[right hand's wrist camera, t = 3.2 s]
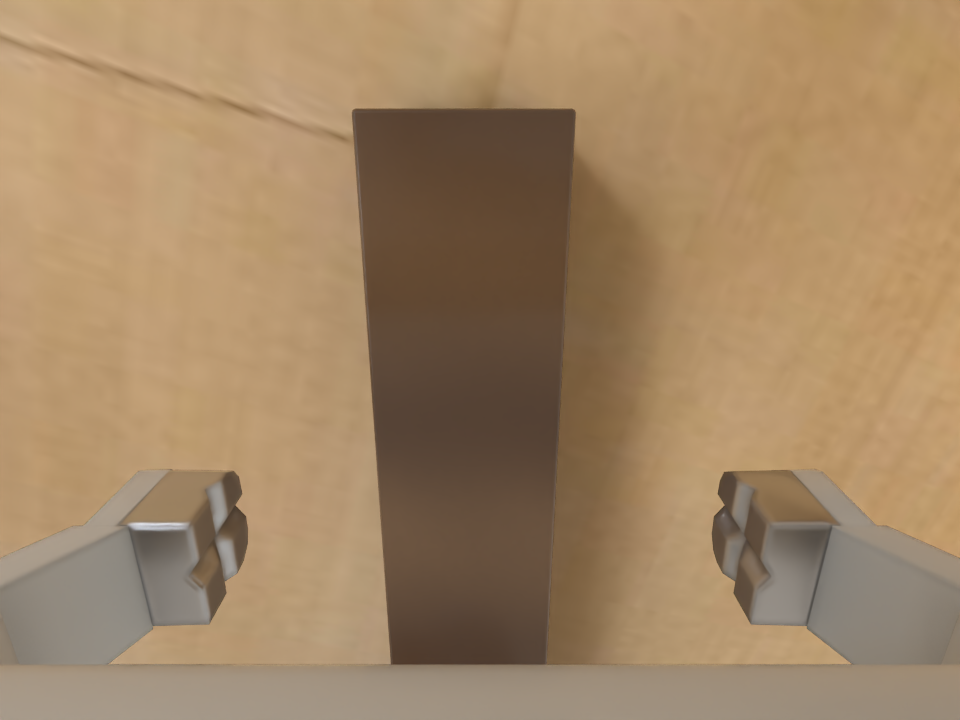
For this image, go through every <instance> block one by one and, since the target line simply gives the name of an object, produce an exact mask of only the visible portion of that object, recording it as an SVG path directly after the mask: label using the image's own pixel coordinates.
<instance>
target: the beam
mask: <svg viewBox="0 0 960 720" xmlns="http://www.w3.org/2000/svg"><path fill="white" fill-rule="evenodd" d="M575 118H576V112H575V110H574V109H354V110H353V111H352V121H353V135H354V149H355V163H356V178H357V192H358V206H359V220H360V234H361V248H362V262H363V276H364V290H365V305H366V319H367V333H368V347H369V361H370V375H371V389H372V403H373V417H374V431H375V446H376V460H377V474H378V488H379V502H380V516H381V530H382V544H383V558H384V573H385V587H386V601H387V615H388V629H389V643H390V657H391V665H547V648H548V629H549V610H550V591H551V572H552V553H553V534H554V515H555V496H556V477H557V459H558V440H559V421H560V402H561V383H562V364H563V345H564V326H565V307H566V288H567V269H568V250H569V231H570V212H571V193H572V175H573V156H574V137H575Z"/></svg>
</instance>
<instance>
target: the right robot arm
mask: <svg viewBox="0 0 960 720" xmlns="http://www.w3.org/2000/svg"><path fill="white" fill-rule="evenodd" d="M241 495H242V490H241V485H240V480H239V476H238V475H237V474H236V473H235V472H234V471H214V470H172V469H159V470H142V471H138V472H137V473H136V474H135V475H134V476H133V477H132V478H131V479H130V480H129V481H128V482H127V483H126V484H125V485H124V486H123V487H122V488H121V489H120V490H119V491H118V492H117V493H116V494H115V495H114V496H113V497H112V498H111V499H110V500H109V501H108V502H107V503H106V504H105V505H104V506H103V507H102V508H101V509H100V510H99V511H98V512H97V513H96V514H95V515H94V516H93V517H92V518H91V519H90V520H89V521H88V522H87V523H86V524H85V525H84V526H72V527H69V528H67V529H65V530H63V531H60V532H58V533H56V534H54V535H51V536H49V537H47V538H45V539H42V540H40V541H38V542H35V543H33V544H31V545H29V546H26V547H24V548H22V549H20V550H17V551H15V552H13V553H11V554H8V555H6V556H4V557H1V558H0V720H960V558H958V557H956V556H954V555H952V554H949V553H947V552H945V551H943V550H940V549H938V548H936V547H933V546H931V545H929V544H927V543H924V542H922V541H920V540H918V539H915V538H913V537H911V536H909V535H906V534H904V533H902V532H900V531H897V530H895V529H893V528H891V527H888V526H877V525H876V524H874V523H873V522H872V521H871V520H870V519H869V518H868V517H867V516H866V515H865V514H864V513H863V512H862V511H861V510H860V509H859V508H858V507H857V506H856V505H855V504H854V503H853V502H852V501H851V500H850V499H849V498H848V497H847V496H846V495H845V494H844V493H843V492H842V491H841V490H840V489H839V488H838V487H837V486H836V485H835V484H834V483H833V482H832V481H831V480H830V479H829V478H828V477H827V476H826V475H825V474H824V473H823V472H821V471H819V470H816V469H803V470H772V471H732V472H724V473H723V476H722V478H721V480H720V484H719V490H718V495H719V497H720V498H721V500H722V501H723V503H724V504H725V506H724V507H723V508H722V509H721V510H720V511H719V512H718V513H717V514H716V515H715V516H714V521H713V529H712V541H713V551H714V554H715V557H716V560H717V563H718V565H719V567H720V569H721V571H722V573H723V574H725V575H726V576H728V577H729V578H731V579H732V580H734V581H735V588H734V595H735V597H736V598H737V600H738V602H739V604H740V606H741V607H742V609H743V611H744V613H745V615H746V616H747V618H748V620H749V622H750V624H755V625H791V626H807V629H808V630H809V631H811V632H812V633H813V634H814V635H816V636H817V637H818V638H820V639H821V640H822V641H823V642H825V643H826V644H827V645H829V646H830V647H831V648H832V649H834V650H835V651H836V652H837V653H839V654H840V655H841V656H843V657H844V658H845V659H846V660H848V661H849V662H850V663H851V664H832V665H831V664H830V665H187V664H109V663H110V662H111V661H113V660H114V659H115V658H116V657H118V656H119V655H120V654H121V653H123V652H124V651H125V650H127V649H128V648H129V647H130V646H132V645H133V644H134V643H136V642H137V641H138V640H139V639H141V638H142V637H143V636H145V635H146V634H147V633H148V632H150V631H151V630H152V629H153V626H168V625H204V624H210V622H211V620H212V618H213V616H214V615H215V613H216V611H217V609H218V607H219V606H220V604H221V602H222V600H223V598H224V597H225V595H226V587H225V581H226V580H228V579H229V578H231V577H232V576H234V575H235V574H237V573H238V571H239V569H240V567H241V565H242V563H243V561H244V557H245V553H246V549H247V544H248V527H247V520H246V516H245V515H244V514H243V513H242V512H241V511H240V510H239V509H238V508H237V507H236V506H235V504H236V503H237V501H238V500H239V498H240V497H241Z"/></svg>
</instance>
